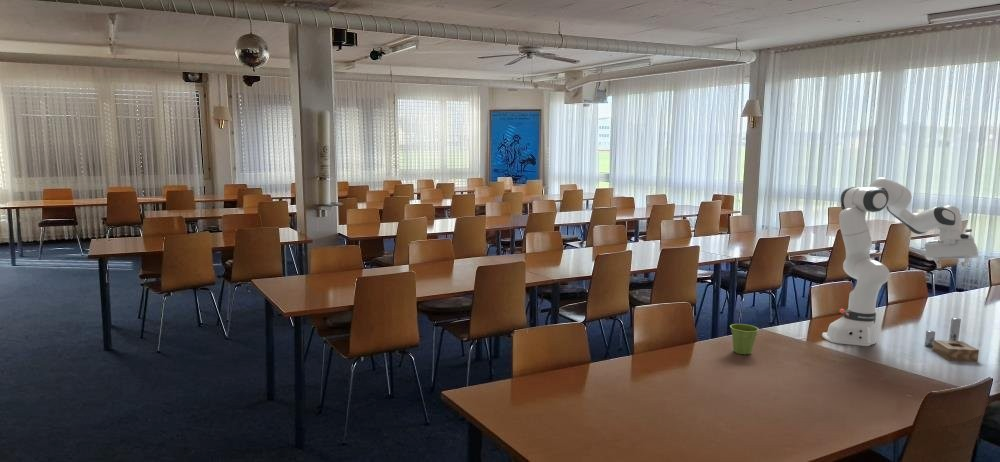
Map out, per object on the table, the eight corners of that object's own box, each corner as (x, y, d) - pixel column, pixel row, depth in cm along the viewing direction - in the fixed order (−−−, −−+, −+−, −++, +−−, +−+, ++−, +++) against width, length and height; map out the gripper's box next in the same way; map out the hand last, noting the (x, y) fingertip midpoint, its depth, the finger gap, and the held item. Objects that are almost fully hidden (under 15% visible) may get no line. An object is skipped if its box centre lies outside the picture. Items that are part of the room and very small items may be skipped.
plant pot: (759, 357, 280) (761, 332, 278) (730, 355, 282) (731, 330, 280) (754, 349, 291) (756, 324, 290) (726, 347, 294) (728, 322, 292)
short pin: (926, 347, 298) (928, 332, 297) (923, 344, 301) (924, 330, 300) (935, 347, 298) (936, 332, 297) (931, 345, 301) (932, 330, 300)
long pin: (950, 349, 295) (954, 319, 293) (946, 347, 298) (949, 317, 296) (958, 350, 295) (962, 319, 293) (954, 347, 298) (958, 317, 296)
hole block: (947, 359, 281) (948, 348, 280) (932, 350, 293) (933, 340, 292) (977, 361, 280) (979, 350, 279) (961, 352, 291) (962, 341, 291)
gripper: (922, 238, 310) (923, 265, 305) (975, 234, 295) (976, 263, 290) (926, 244, 314) (926, 270, 309) (978, 240, 299) (979, 268, 294)
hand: (951, 267), depth 299 cm, fingers open, 8 cm apart
